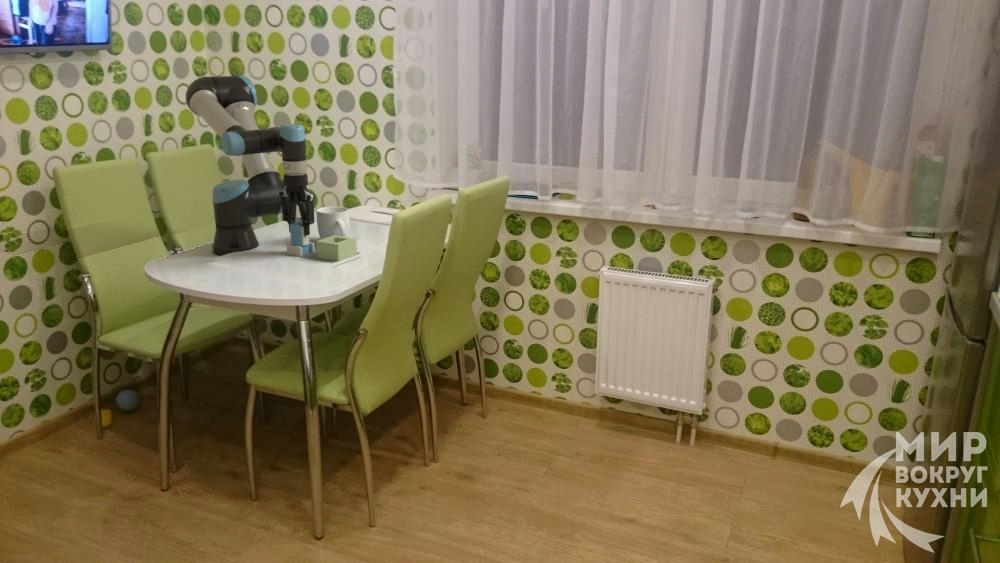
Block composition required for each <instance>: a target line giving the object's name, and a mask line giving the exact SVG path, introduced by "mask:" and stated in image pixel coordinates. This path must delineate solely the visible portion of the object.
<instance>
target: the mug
mask: <svg viewBox="0 0 1000 563" xmlns="http://www.w3.org/2000/svg"><path fill="white" fill-rule="evenodd" d="M349 210H350V209H349V208H347V207H343V206H325V207H324V206H323V207H320V208H317V209H316V226H317V233H318V236H319V238H320V239H319V240H321V239H325V238H328V237H331V236H334V235H337V236H343V237H349V236H350V235H349V234H350V227H351V226H350V212H349Z"/></svg>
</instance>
